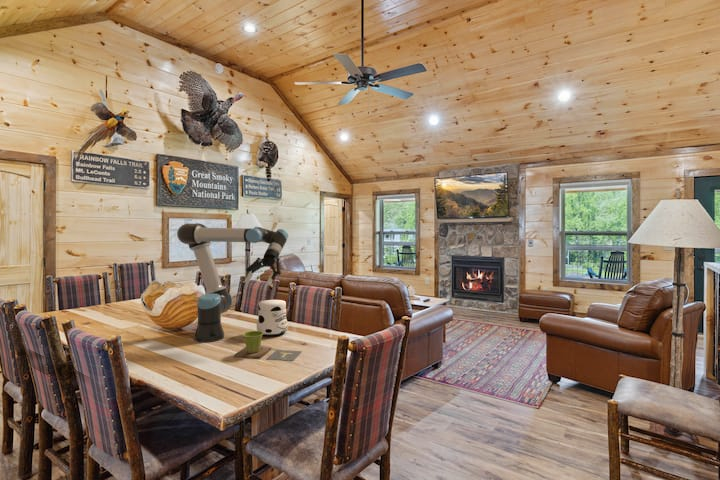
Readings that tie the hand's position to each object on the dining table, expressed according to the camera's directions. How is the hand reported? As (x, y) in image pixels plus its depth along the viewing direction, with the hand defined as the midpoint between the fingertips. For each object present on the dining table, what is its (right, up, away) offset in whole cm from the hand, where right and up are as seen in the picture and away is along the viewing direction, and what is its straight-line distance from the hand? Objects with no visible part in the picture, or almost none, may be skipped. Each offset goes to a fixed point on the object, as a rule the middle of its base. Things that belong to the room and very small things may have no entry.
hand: (257, 283), depth 198 cm
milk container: (+3, -31, +20) cm, 37 cm away
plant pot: (+2, -31, -14) cm, 34 cm away
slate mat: (+18, -32, -16) cm, 40 cm away
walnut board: (+2, -32, -14) cm, 35 cm away
